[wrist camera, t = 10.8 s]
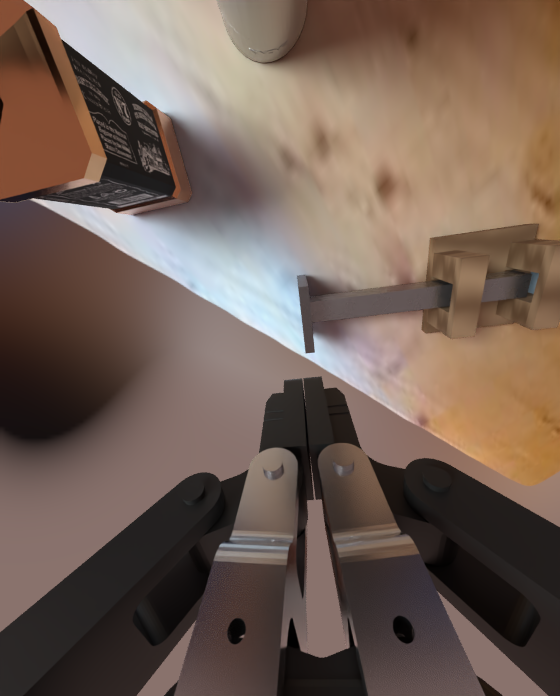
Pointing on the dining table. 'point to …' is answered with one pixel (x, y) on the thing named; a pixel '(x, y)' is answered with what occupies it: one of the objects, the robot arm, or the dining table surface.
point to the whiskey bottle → (77, 127)
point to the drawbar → (398, 299)
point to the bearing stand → (491, 257)
